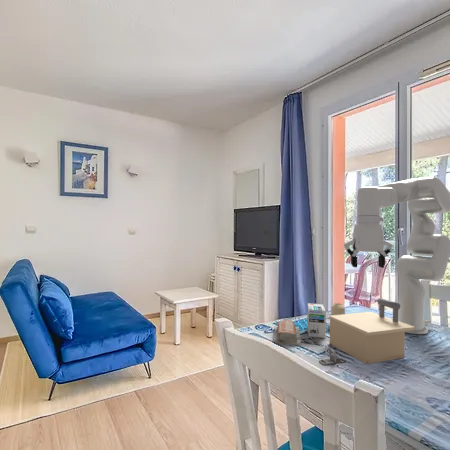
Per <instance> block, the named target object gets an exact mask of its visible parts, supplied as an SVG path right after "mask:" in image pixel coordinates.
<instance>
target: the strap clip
mask: <svg viewBox="0 0 450 450" xmlns="http://www.w3.org/2000/svg"><path fill="white" fill-rule="evenodd" d="M328 351H329V352H328V354H329V355H328V356H329V358H321V359H320V360H318V363H319V364H321V365H322V366H331V365H334V364H345V363H347V362H346V360H344V359H343V358H337V353H336V351H335V350H334V349H332V348H330V349H328Z"/></svg>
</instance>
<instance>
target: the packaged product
mask: <svg viewBox="0 0 450 450" xmlns="http://www.w3.org/2000/svg"><path fill="white" fill-rule="evenodd" d="M274 342H275V343H274ZM273 343H274V344H276V343H277V345H289V346H300V347H301V345H302V339H301V333H300V327H299V326H296V325H295V321H294V320H291V319H286V320H280V321H278V322H277V326H274V335H273Z"/></svg>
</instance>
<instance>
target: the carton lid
mask: <svg viewBox="0 0 450 450" xmlns="http://www.w3.org/2000/svg"><path fill="white" fill-rule="evenodd" d="M377 304H378V305H379V308H378V309H379V311H378V312H379V313H376V312H373V311H368V312H367V311H366V312H365V311H364V312H353V313H345V314H342V315H332V316H331V315H329V317H328V318H329V319H332V320H334V321H336V322H338V323H341V324H343V325H345V326H347V327H350V328H352V329H354V330H356V331H359V332H361V333H363V334H365V335H368V336H370V335H378V334H386V333H394V332H402V331H410V330H415V327H414V326H411V325H408V324H405V323H402V322H400V321H398V310H399V309H400V304H399V303H398V302H395V301H392V300H388V299H384V298H382V297H379V298H378V300H377ZM385 307H387V308H389V309H392V318H391V317H388V316H385V311H386V310H385Z"/></svg>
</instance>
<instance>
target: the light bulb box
mask: <svg viewBox="0 0 450 450" xmlns="http://www.w3.org/2000/svg"><path fill="white" fill-rule="evenodd" d="M306 322H307V325H306V326H307V327H306V328H307V335H308V337H310V338H311V337H312V338H322V339H326V338H327V335H326V333H327V332H326V331H327V310H326V308H325V306H324V304H321V303H320V304H319V303H310V302H309V303H308V302H307V321H306Z"/></svg>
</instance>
